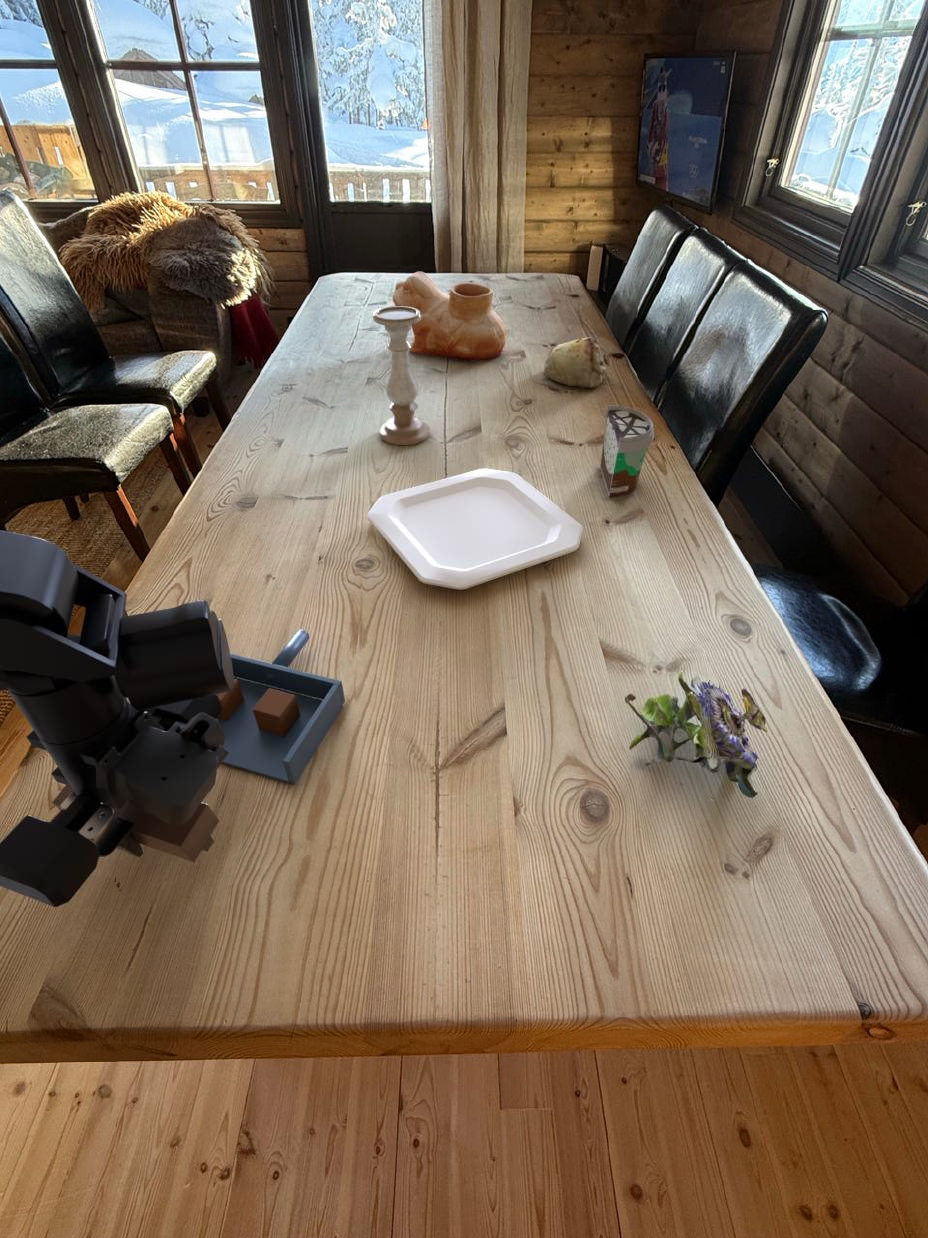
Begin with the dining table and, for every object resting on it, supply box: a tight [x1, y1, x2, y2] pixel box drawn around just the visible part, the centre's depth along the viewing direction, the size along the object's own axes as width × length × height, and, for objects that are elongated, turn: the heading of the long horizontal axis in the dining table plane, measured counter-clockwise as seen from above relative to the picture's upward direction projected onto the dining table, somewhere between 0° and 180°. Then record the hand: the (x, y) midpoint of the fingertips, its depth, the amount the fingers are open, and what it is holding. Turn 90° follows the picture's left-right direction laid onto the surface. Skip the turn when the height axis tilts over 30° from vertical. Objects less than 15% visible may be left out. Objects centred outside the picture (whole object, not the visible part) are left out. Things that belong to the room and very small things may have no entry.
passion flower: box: [624, 670, 768, 799], centre depth 60 cm, size 11×11×12 cm
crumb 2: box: [253, 688, 300, 737], centre depth 65 cm, size 3×3×3 cm
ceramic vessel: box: [391, 271, 507, 363], centre depth 144 cm, size 14×26×15 cm, turn 67°
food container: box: [599, 404, 655, 498], centre depth 100 cm, size 12×6×10 cm, turn 179°
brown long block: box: [52, 785, 220, 863], centre depth 53 cm, size 12×4×4 cm, turn 72°
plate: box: [366, 468, 584, 590], centre depth 91 cm, size 25×25×2 cm
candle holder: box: [372, 305, 431, 446], centre depth 109 cm, size 9×9×20 cm
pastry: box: [543, 336, 607, 389], centre depth 134 cm, size 14×12×8 cm
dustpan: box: [150, 629, 346, 786], centre depth 68 cm, size 17×16×3 cm
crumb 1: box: [217, 679, 244, 720], centre depth 66 cm, size 3×3×3 cm
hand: (151, 835), depth 55 cm, fingers closed on brown long block, 3 cm apart
